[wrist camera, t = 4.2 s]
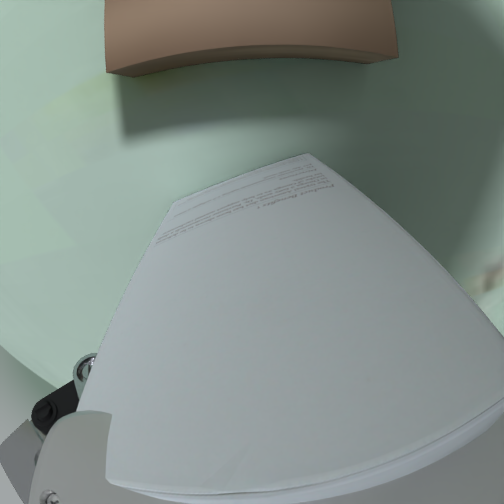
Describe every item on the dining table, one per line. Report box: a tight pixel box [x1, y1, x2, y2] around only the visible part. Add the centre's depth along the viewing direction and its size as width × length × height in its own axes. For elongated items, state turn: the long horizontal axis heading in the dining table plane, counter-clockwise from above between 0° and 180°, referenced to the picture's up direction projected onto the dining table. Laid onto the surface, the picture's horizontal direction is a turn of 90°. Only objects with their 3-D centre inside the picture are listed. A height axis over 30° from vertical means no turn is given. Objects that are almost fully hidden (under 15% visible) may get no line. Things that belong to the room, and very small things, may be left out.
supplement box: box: [76, 153, 504, 504], centre depth 9 cm, size 7×7×13 cm
